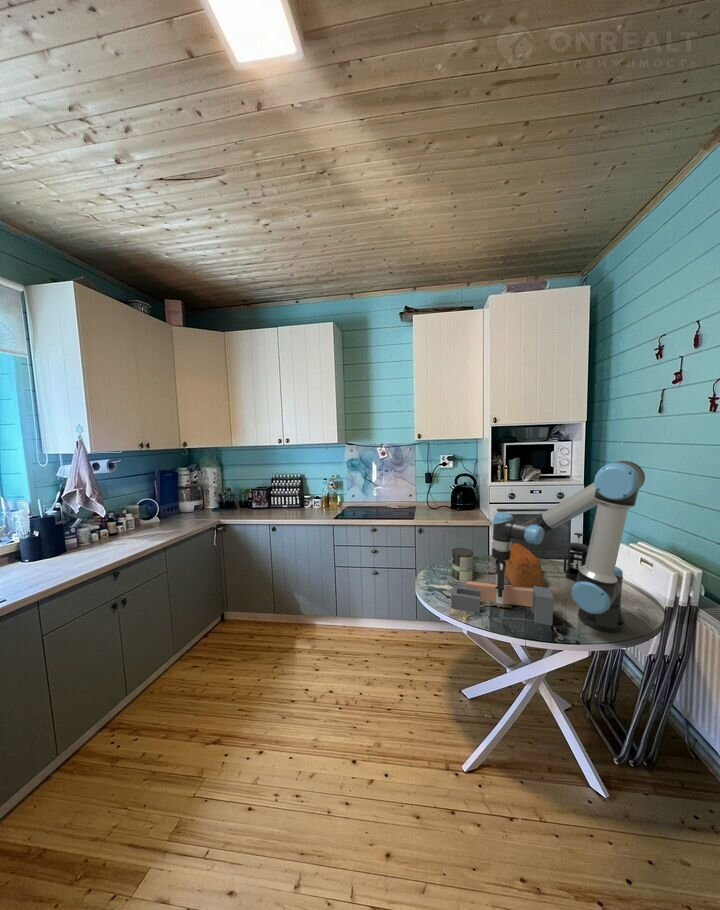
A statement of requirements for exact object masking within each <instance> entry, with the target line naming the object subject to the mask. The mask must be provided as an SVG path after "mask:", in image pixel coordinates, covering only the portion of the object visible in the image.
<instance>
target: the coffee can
mask: <svg viewBox="0 0 720 910" xmlns="http://www.w3.org/2000/svg"><path fill="white" fill-rule="evenodd" d="M451 554H452V556H451V579H452V580H453V581H454V582H457V583H461V584H467V581H470V582H473V579H474V578H473V567H474V565H473V564H474V551H473V550H471V549H469V548H466V547H455V548H453V549H452V550H451Z"/></svg>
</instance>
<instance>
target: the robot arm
mask: <svg viewBox="0 0 720 910" xmlns="http://www.w3.org/2000/svg"><path fill="white" fill-rule="evenodd" d="M593 480H594V481H593V482H592V483H591V484H588V485H587V486H586V487H584V488H583V489H581V490H579V491H577V492H575V493H574V494H572V495H571V496H568V497H567V498H566V499H564V500H562V501H561V502H559V503H557V504H555V505H554V506H552V507H550V508H549V509H547V510H546V511H543V512H542V513H541V514H538V515H537V516H535V517H534V518H531V519H529V520H528V521H526V522H521V521H519V520H518V521H517V520H514V518H513V515H512V514H510V513H507V512H496V513H495V514H494V516H493V523H492V524H493V525H492V528H493V530H492V540H490V542H491V543H492V548H491V557H492V558H493V559H495V568H496V569H495V584H497V587H495V588H496V589H497V593H496V602H495V603H496V604H499V605H503V604H504V603H503V594H504V585H505V575H504V574H505V567H506V563H505V560H509V559H510V556H511V551H510V550H511V543H512V539H514V540H516V541H521V542H525V543H528V544H531V545H532V544H533V545H540V544H541V543H542V541H543V540H544V536H545V535H546V534H547V533H549V532H551V531H553V530H554V529H556V528H557V527H559V526H561V525H563V524H565V523H567V522H569V521H570V520H572V519H574V518H575V517H578V516H580V515H581V514H583V513H585V512H586V511H588V510H590V509H592V508H594V507H596V506H597V507H596V512H595V516H594V521H593V525H592V531H591V536H590V540H589V544H588V547H589V549H588V552H586V553H587V554H586V555H587V558H586V563H585V565H584V566H581V567H580V568H579V572H578V576H577V581H575V583H574V584H572V587H571V592H570V594H571V599H572V600H573V601H574V603H575V604H576V606H578V607H579V609H578V619H579V621H580V622H582V623H583V624H584V625H586V626H588V627H590V628H592V629H594V630H596V631H597V630H598V631H600V632H605V633H611V634H612V633H614V634H617V633H616V632H619V633H622V632H624V631H625V630H624V629H626V621H625V617H624V614H623V611H622V607H621V606H622V603H621V602H622V590H623V579H624V576H623V574H624V572H623V570H622V569H621V568H620V567H617V566H616V564H617V559H618V555H619V552H620V547H621V542H622V538H623V534H624V529H625V525H626V519H627V516H628V511H629V509H631V508H634V507H635V505H636V503H637V498H638V493H639V490H640V489H641V488H642V487H643V485H644V484H645V481H646V474H645V471H644V469H642V467H641V466H640V465H638V464H637V463H635V462H633V461H630V460H629V461H628V460H620V461H616V462H612V463H611V462H610V463H608V464H606V465H603V467H601V468H600V469H599V470H598V471H597V472H596V474H595V476H594V479H593ZM623 630H624V631H623ZM621 631H622V632H621Z"/></svg>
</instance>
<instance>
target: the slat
mask: <svg viewBox="0 0 720 910" xmlns="http://www.w3.org/2000/svg"><path fill="white" fill-rule="evenodd" d="M465 584H466V585H465V586H466V587H467V588H474V589H480V590H481V591H480V602H481V601H482V602H489V603H490V602H491V603H496V593H497V589H496V588H495V587H497V584H494V583H486V582H477V581H471V582H470V581H467V583H465ZM503 604H506V605H515V606H523V607H531V608H532V605H533V588H524V587H515V586H513V585H505V584H504V594H503Z"/></svg>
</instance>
